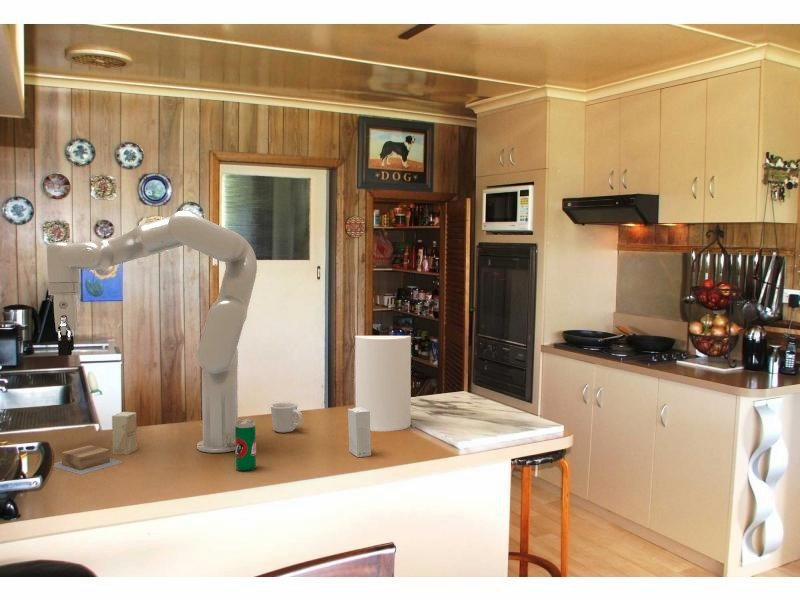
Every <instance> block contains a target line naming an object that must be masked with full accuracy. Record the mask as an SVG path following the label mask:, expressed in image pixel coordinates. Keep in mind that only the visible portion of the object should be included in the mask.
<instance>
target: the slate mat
mask: <svg viewBox="0 0 800 600" xmlns="http://www.w3.org/2000/svg"><path fill="white" fill-rule="evenodd" d="M53 463H54V466H53V468H57V469H59V470H64V471H66V472H71V473H72V474H77V475H84V474H88V473H91V472H95V471H99V470H101V469H105V468H109V467H112V466H116V465H119V464H123V463H124V461H121V460H118V459H114V458H110V462H108V463H105V464H101V465H98V466H94V467H90V468H87V469H83V470H78V469H75V468H71V467H68V466H64V465H62V460H61V461H57V462H53Z"/></svg>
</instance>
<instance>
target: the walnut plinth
mask: <svg viewBox="0 0 800 600" xmlns="http://www.w3.org/2000/svg"><path fill="white" fill-rule="evenodd" d="M110 452H111V451H110V449H109V448H105V447H100V446H97V445H93V444H90V445H85V446H81V447H77V448H74V449H69V450H65V451H62V452H61V453H60V454H61V461H62V465H64V466H68V467H71V468H75V469H78V470H83V469H87V468H90V467H94V466H98V465H101V464H105V463H108V462H110V455H111V454H110Z"/></svg>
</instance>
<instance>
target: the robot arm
mask: <svg viewBox="0 0 800 600" xmlns="http://www.w3.org/2000/svg"><path fill="white" fill-rule="evenodd" d="M183 246H186V247H188V248H191V249H193V250H195V251H197V252H199V253H201V254H204V255H206V256H208V257H210V258H213V259H214V260H217V261H220V262H222V263H224V264H225V271H224V274H223V277H222V281H221V285H220V288H219V293H218V295H217V297H216V300H215V302H213V304H212V305H211V306H210V308H209V309H208V310H209V311H208V313H207V316H206V320H205V323H204V327H203V330H202V332H201V333H202V334H201V338H200V340H199V345H198V346H197V347H198V348H197V353H196V359H197V362H198V364H199V366H200V368H201V405H202V406H201V412H202V418H201V419H202V440H201V441H199V442H197V444H196V446H197V447H196V449H197V450H198V451H200V452H203V453H210V454H212V453H214V454H216V453H217V454H218V453H220V454H221V453H229V452H235V426H236V424H237V423H236V422H237V421H239V410H238V408H239V407H238V406H239V405H238V403H239V402H238V390H239V389H238V386H239V384H238V367H239V365H238V362H239V361H238V360H239V359H238V358H239V354H238V353H239V351H238V345H239V342H240V339H241V335H242V330H243V327H244V324H245V322H246V320H247V318H248V309H249V304H250V302H251V298H252V294H253V289H254V285H255V282H256V278H257V271H258V263H257V257H256V254H255V251H254V249H253V247H252V246H251V244H250V242H248V240H246V239H245V237H243V236H242V235H241V234H239V233H238V232H236V231H234V230H231V229H228V228H226V227H224V226H222V225H219V224H217V223H214V222H213V221H211V220H209V219H206V218H204V217H202V216H200V215H199V213H196V212H194V211H191V210H186V209H183V210H179V211H177V212H174V213H173V214H172V215H169V216H167V217H163V218H160V219H156V220H154V221H149V222H146V223H142V224H139V225H136V227H134V228H133V229H131V230H130V231H128V232H126V233H123V234H120V235H117V236H114V237H110V238H107V239H104V240H99V241H92V240H91V241H82V242H69V241H67V242H66V241H64V242H62V241H60V242H59V241H58V242H57V241H56V242H55V241H54V242H50V243H48V245H47V247H46V263H47V287H48V288H47V289H48V296H53V314H54V315H53V316H54V323H55V325H54V326H55V332H56V333H57V334H58V340H57V353H58V356H59V357H65V356H66V357H67V356H68V357H70V356H72V355H73V351H74V350H75V344H74V343H75V340H74V339H75V338H74V335H73V333H74V332H75V333H76V332H77V331H78V308H77V296H76V295H80V294H81V291H80V270H86V271H87V270H88V271H95V270H104V269H106V268H107V269H108V268H110V267H114V266H117V265H120V264H125V263H128V262H130V261H134V260H137V259H140V258H147V257H150V256H153V255H156V254H159V253H162V252H166V251H169V250H172V249H175V248H179V247H183Z"/></svg>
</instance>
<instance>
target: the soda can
mask: <svg viewBox="0 0 800 600" xmlns="http://www.w3.org/2000/svg"><path fill="white" fill-rule="evenodd" d="M236 423H237V424H236V426H235V450H234V452H235V468H236V470H237V471H239V472H250V471H253V470H255V469H256V467H257V425H256V423H255V421H254V420H252V419H241V420H239V419H238V421H237V422H236Z"/></svg>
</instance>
